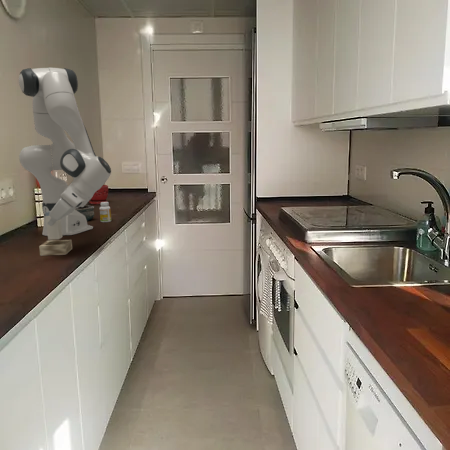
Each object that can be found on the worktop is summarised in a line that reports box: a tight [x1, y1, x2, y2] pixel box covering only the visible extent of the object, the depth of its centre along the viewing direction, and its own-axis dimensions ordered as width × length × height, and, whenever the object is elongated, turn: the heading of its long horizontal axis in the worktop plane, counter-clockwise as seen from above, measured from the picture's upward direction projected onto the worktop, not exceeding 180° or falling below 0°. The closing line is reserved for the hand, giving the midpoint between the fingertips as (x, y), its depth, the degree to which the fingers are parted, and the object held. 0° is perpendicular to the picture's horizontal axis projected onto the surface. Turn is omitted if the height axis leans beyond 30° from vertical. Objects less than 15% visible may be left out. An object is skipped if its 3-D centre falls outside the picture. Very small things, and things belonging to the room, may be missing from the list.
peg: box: [45, 211, 63, 241], centre depth 165 cm, size 4×4×10 cm
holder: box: [38, 239, 73, 257], centre depth 167 cm, size 9×9×4 cm
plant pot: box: [88, 184, 109, 205], centre depth 293 cm, size 13×13×12 cm
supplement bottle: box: [98, 201, 112, 223], centre depth 227 cm, size 5×5×10 cm
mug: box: [75, 204, 95, 222], centre depth 233 cm, size 10×12×10 cm
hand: (52, 223), depth 165 cm, fingers closed on peg, 4 cm apart
